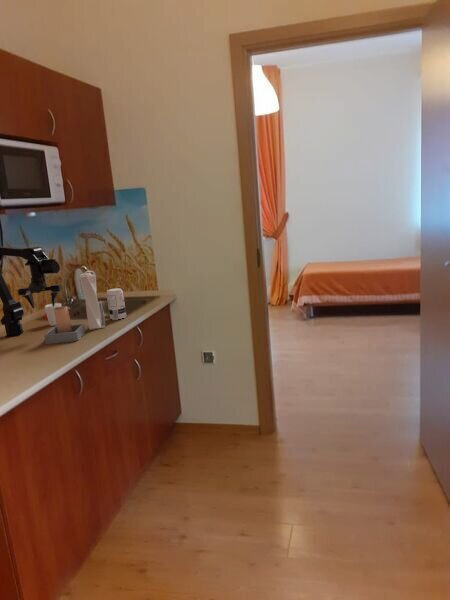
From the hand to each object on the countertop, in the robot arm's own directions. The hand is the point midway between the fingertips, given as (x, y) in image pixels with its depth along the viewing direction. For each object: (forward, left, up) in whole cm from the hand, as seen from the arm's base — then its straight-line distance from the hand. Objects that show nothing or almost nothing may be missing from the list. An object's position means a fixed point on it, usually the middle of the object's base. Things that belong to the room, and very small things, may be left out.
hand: (43, 307), depth 221 cm
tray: (+11, -10, -13) cm, 20 cm away
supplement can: (+30, +18, -13) cm, 37 cm away
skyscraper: (+22, +3, -13) cm, 26 cm away
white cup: (-2, +20, -13) cm, 24 cm away
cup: (+11, -10, -12) cm, 19 cm away
